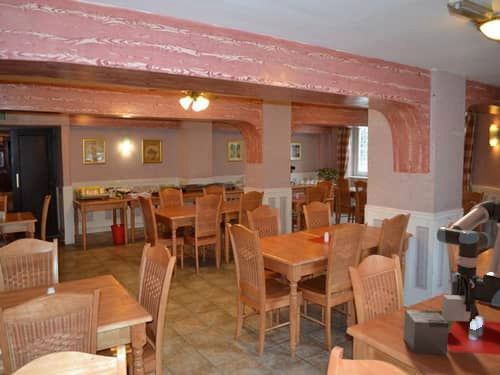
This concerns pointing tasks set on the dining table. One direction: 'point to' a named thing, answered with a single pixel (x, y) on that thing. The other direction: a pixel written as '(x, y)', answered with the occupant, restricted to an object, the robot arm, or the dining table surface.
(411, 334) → the box
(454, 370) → the dining table surface
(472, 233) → the robot arm
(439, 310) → the plant pot
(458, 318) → the upright grey box
